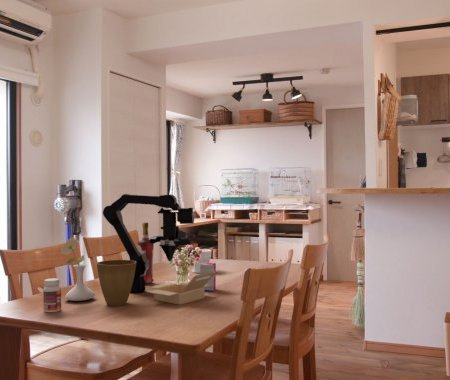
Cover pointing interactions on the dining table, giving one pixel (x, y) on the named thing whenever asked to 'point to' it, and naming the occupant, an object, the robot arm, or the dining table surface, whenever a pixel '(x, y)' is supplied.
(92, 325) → the dining table surface
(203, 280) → the flap
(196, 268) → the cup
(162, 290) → the carton
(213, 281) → the supplement box
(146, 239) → the liquor
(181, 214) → the robot arm
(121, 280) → the plant pot
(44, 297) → the pill bottle
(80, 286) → the flower in vase
